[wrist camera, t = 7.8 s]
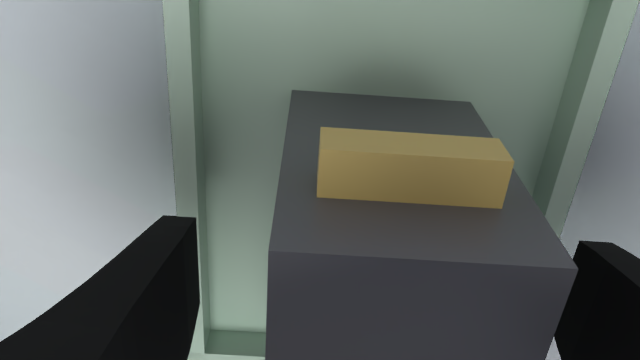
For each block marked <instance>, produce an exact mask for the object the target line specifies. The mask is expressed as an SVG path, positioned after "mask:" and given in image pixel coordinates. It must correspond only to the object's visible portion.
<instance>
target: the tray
mask: <svg viewBox="0 0 640 360" xmlns="http://www.w3.org/2000/svg"><path fill="white" fill-rule="evenodd" d="M639 1H640V0H162V3H163V18H164V33H165V48H166V63H167V78H168V93H169V108H170V123H171V137H172V152H173V167H174V182H175V197H176V212H177V216H180V217H196V225H197V246H198V267H199V289H200V306H199V311H198V316H197V321H196V326H195V331H194V335H193V340H192V344H191V349H190V353H189V356H188V359H187V360H265V348H266V313H267V278H268V249H269V242H270V236H271V229H272V222H273V215H274V208H275V202H276V195H277V188H278V181H279V174H280V168H281V161H282V154H283V147H284V141H285V134H286V127H287V120H288V113H289V107H290V100H291V93H292V90H301V91H316V92H331V93H346V94H361V95H375V96H390V97H405V98H420V99H435V100H450V101H465V102H471V104H472V105H473V107H474V108H475V110H476V111H477V113H478V115H479V116H480V118H481V119H482V121H483V122H484V124H485V125H486V127H487V128H488V130H489V132H490V133H491V135H492V136H493V138H499V139H500V141H501V142H502V144H503V145H504V147H505V148H506V150H507V151H508V153H509V154H510V156H511V157H512V159H513V160H514V165H513V169H514V170H515V172H516V173H517V175H518V176H519V178H520V179H521V181H522V182H523V184H524V186H525V187H526V189H527V190H528V192H529V193H530V195H531V196H532V198H533V199H534V201H535V203H536V204H537V206H538V207H539V209H540V210H541V212H542V213H543V215H544V216H545V218H546V220H547V221H548V223H549V224H550V226H551V227H552V229H553V230H554V232H555V233H556V235H557V237H558V238H560V235H561V232H562V229H563V226H564V223H565V220H566V217H567V214H568V211H569V208H570V205H571V202H572V199H573V196H574V193H575V190H576V187H577V184H578V181H579V178H580V175H581V172H582V170H583V167H584V164H585V161H586V158H587V155H588V152H589V149H590V146H591V143H592V140H593V137H594V134H595V131H596V128H597V125H598V122H599V119H600V116H601V113H602V110H603V107H604V104H605V101H606V98H607V95H608V92H609V89H610V87H611V84H612V81H613V78H614V75H615V72H616V69H617V66H618V63H619V60H620V57H621V54H622V51H623V48H624V45H625V42H626V39H627V36H628V33H629V30H630V27H631V24H632V21H633V18H634V15H635V12H636V9H637V6H638V4H639Z"/></svg>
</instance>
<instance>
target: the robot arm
mask: <svg viewBox="0 0 640 360" xmlns="http://www.w3.org/2000/svg"><path fill="white" fill-rule="evenodd" d="M573 261H574V263H575V264H576V266H577V267H578V272H577V275H576V277H575V280H574V283H573V285H572V288H571V291H570V293H569V296H568V299H567V302H566V304H565V307H564V310H563V312H562V315H561V318H560V321H559V323H558V326H557V329H556V331H555V334H554V337H555V341H556V344H557V348H558V351H559V354H560V357H561V360H640V259H639V258H637V257H636V256H634V255H632V254H631V253H629V252H627V251H626V250H624V249H622V248H620V247H619V246H617V245H615V244H613V243H609V242H592V241H579V244H578V246H577V249H576V252H575V255H574V257H573ZM199 306H200V289H199V267H198V246H197V225H196V217H180V216H164V215H163V216H162V217H161V218H160V219H158V220H157V221H156V222H155V223H154V224H152V225H151V226H150V227H149V228H148V229H147V230H145V231H144V232H143V233H142V234H141V235H140V236H139V237H138V238H136V239H135V240H134V241H133V242H132V243H131V244H130V245H128V246H127V247H126V248H125V249H124V250H123V251H122V252H120V253H119V254H118V255H117V256H116V257H115V258H113V259H112V260H111V261H110V262H109V263H107V264H106V265H105V266H104V267H103V268H101V269H100V270H99V271H98V272H97V273H95V274H94V275H93V276H92V277H91V278H89V279H88V280H87V281H86V282H85V283H83V284H82V285H81V286H79V287H78V288H77V289H75V290H74V291H73V292H71V293H70V294H69V295H67V296H66V297H65V298H63V299H62V300H61V301H59V302H58V303H57V304H55V305H54V306H53V307H52V308H50V309H49V310H48V311H46V312H45V313H43V314H42V315H40V316H39V317H38V318H36V319H35V320H33V321H32V322H30V323H29V324H27V325H26V326H24V327H23V328H21V329H20V330H18V331H17V332H15V333H14V334H12V335H10V336H9V337H7V338H6V339H4V340H3V341H1V342H0V360H187V359H188V356H189V353H190V349H191V344H192V340H193V335H194V331H195V326H196V321H197V316H198V311H199Z"/></svg>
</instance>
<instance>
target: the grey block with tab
mask: <svg viewBox="0 0 640 360" xmlns="http://www.w3.org/2000/svg"><path fill="white" fill-rule="evenodd" d="M513 165H514V160H513V159H512V157H511V156H510V154H509V153H508V151H507V150H506V148H505V147H504V145H503V144H502V142H501V141H500V139H499V138H493V136H492V135H491V133H490V132H489V130H488V128H487V127H486V125H485V124H484V122H483V121H482V119H481V118H480V116H479V115H478V113H477V111H476V110H475V108H474V107H473V105H472V104H471V102H465V101H450V100H435V99H420V98H405V97H390V96H375V95H361V94H346V93H331V92H316V91H301V90H292V93H291V100H290V107H289V113H288V120H287V127H286V134H285V141H284V147H283V154H282V161H281V168H280V174H279V181H278V188H277V195H276V202H275V208H274V215H273V222H272V229H271V236H270V242H269V249H268V278H267V313H266V348H265V360H545V358H546V356H547V353H548V350H549V348H550V345H551V342H552V339H553V337H554V334H555V331H556V329H557V326H558V323H559V321H560V318H561V315H562V312H563V310H564V307H565V304H566V302H567V299H568V296H569V293H570V291H571V288H572V285H573V283H574V280H575V277H576V275H577V272H578V267H577V266H576V264H575V263H574V261H573V260H572V258H571V257H570V255H569V254H568V252H567V250H566V249H565V247H564V246H563V244H562V243H561V241H560V240H559V238H558V237H557V235H556V233H555V232H554V230H553V229H552V227H551V226H550V224H549V223H548V221H547V220H546V218H545V216H544V215H543V213H542V212H541V210H540V209H539V207H538V206H537V204H536V203H535V201H534V199H533V198H532V196H531V195H530V193H529V192H528V190H527V189H526V187H525V186H524V184H523V182H522V181H521V179H520V178H519V176H518V175H517V173H516V172H515V170H514V169H513Z"/></svg>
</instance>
